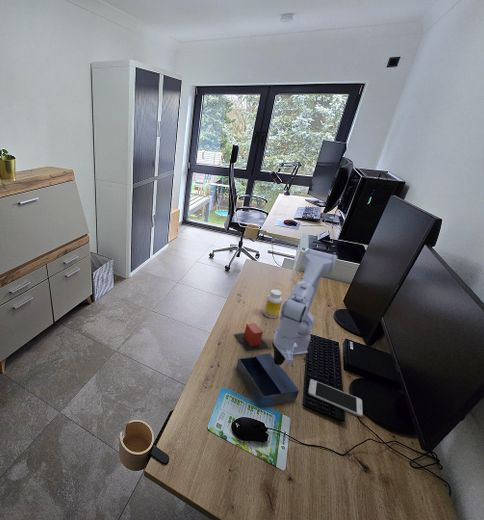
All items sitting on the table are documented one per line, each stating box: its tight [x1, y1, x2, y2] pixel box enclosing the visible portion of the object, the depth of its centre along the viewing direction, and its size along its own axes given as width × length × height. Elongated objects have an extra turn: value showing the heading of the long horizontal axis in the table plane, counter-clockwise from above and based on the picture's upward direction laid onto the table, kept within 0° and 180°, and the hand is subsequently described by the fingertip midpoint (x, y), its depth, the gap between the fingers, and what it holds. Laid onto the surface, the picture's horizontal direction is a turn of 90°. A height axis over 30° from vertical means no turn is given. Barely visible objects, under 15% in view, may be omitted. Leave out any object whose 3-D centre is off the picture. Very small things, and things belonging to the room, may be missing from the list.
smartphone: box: [307, 378, 364, 418], centre depth 99 cm, size 7×15×1 cm, turn 57°
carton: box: [235, 355, 300, 409], centre depth 102 cm, size 13×17×5 cm
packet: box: [243, 322, 264, 346], centre depth 121 cm, size 4×6×7 cm, turn 10°
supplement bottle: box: [262, 289, 283, 319], centre depth 137 cm, size 7×7×13 cm
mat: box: [234, 332, 269, 352], centre depth 123 cm, size 10×10×1 cm
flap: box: [254, 352, 300, 394], centre depth 101 cm, size 6×17×1 cm, turn 10°
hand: (277, 363), depth 99 cm, fingers closed
